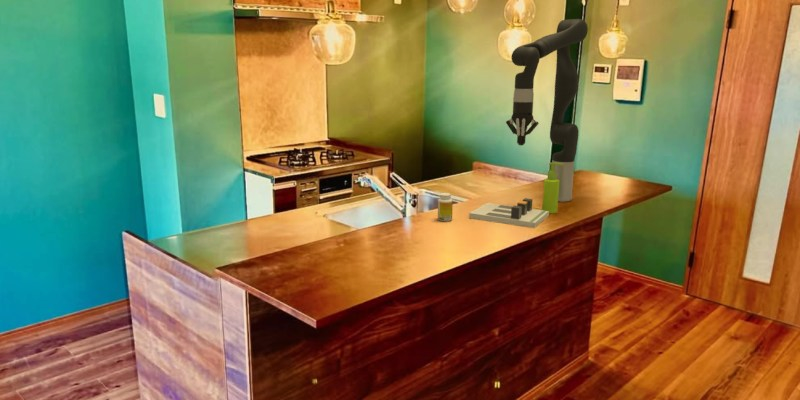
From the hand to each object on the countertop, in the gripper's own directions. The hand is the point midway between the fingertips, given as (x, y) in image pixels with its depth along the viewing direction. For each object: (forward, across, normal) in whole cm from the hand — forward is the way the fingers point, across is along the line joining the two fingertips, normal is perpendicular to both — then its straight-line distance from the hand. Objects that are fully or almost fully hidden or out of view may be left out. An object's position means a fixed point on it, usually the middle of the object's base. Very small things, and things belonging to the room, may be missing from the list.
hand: (520, 145), depth 221 cm
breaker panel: (+27, 0, +10) cm, 29 cm away
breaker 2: (+25, -5, +4) cm, 25 cm away
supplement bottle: (+27, +20, +26) cm, 43 cm away
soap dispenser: (+27, -12, -6) cm, 30 cm away
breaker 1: (+25, -5, +17) cm, 30 cm away
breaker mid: (+25, -5, +10) cm, 27 cm away
